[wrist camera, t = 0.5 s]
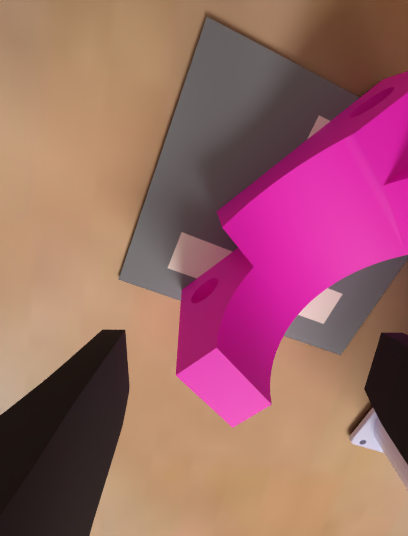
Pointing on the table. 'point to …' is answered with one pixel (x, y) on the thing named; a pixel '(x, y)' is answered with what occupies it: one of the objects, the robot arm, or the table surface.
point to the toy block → (296, 247)
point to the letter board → (240, 176)
